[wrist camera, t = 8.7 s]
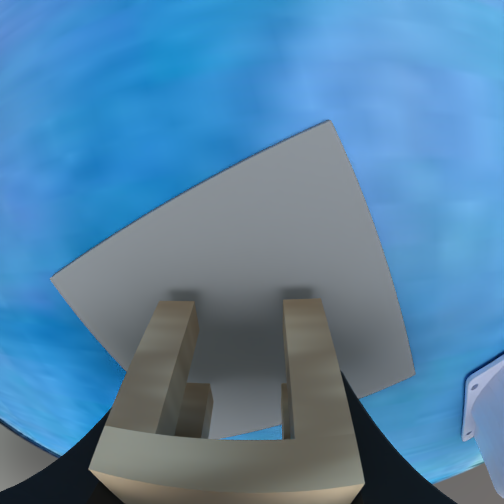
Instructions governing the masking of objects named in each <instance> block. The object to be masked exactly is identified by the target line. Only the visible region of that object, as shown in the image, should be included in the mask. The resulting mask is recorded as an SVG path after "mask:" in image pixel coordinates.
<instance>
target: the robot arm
mask: <svg viewBox="0 0 504 504" xmlns="http://www.w3.org/2000/svg"><path fill="white" fill-rule="evenodd" d="M340 372H341V376H342V380H343V384H344V388H345V393H346V397H347V401H348V405H349V410H350V414H351V418H352V423H353V427H354V432H355V437H356V441H357V446H358V451H359V456H360V461H361V466H362V471H363V476H364V481H365V484H364V486H363V487H362V488H361V490H360V491H359V493H358V494H357V495H356V497H355V498H354V500H353V501H352V502H351V504H457V503H456V502H454V501H453V500H452V499H450V498H449V497H447V496H446V495H445V494H443V493H442V492H441V491H440V490H438V489H437V488H436V487H434V486H433V485H432V484H431V483H430V482H428V481H427V480H426V479H425V478H424V477H423V476H421V475H420V474H419V473H418V472H417V471H416V470H415V469H414V468H413V467H412V466H411V465H410V464H409V463H408V462H407V461H406V460H405V459H404V458H403V457H402V456H401V455H400V453H399V452H398V451H397V450H396V449H395V448H394V447H393V445H392V444H391V443H390V442H389V441H388V439H387V438H386V437H385V436H384V434H383V433H382V432H381V431H380V429H379V428H378V427H377V425H376V424H375V423H374V421H373V420H372V418H371V417H370V416H369V414H368V413H367V411H366V410H365V408H364V407H363V405H362V404H361V402H360V401H359V399H358V398H357V396H356V394H355V393H354V391H353V390H352V388H351V386H350V385H349V383H348V381H347V379H346V377H345V376H344V374H343V372H342V371H341V370H340ZM111 409H112V408H111ZM111 409H110V410H109V411H108V412H107V413H106V414H105V416H104V417H103V418H102V419H101V420H100V421H99V422H98V423H97V424H96V425H95V426H94V427H93V428H92V429H91V430H90V431H89V432H88V433H87V434H86V435H85V436H84V437H83V438H82V439H81V440H80V441H79V442H78V443H77V444H76V445H75V446H73V447H72V448H71V449H70V450H69V451H68V452H66V453H65V454H64V455H63V456H61V457H60V458H59V459H57V460H56V461H55V462H53V463H52V464H51V465H49V466H48V467H46V468H45V469H43V470H42V471H40V472H38V473H37V474H35V475H33V476H32V477H30V478H29V479H27V480H25V481H23V482H21V483H19V484H17V485H15V486H13V487H10V488H8V489H6V490H4V491H1V492H0V504H125V503H124V502H122V501H121V500H120V499H119V498H118V497H117V496H116V495H115V494H113V493H112V492H111V491H110V490H109V489H108V488H107V487H106V486H105V485H104V484H103V483H102V482H101V481H100V480H99V479H98V478H97V477H96V476H95V475H94V474H93V473H92V472H91V471H90V470H89V466H90V463H91V460H92V458H93V455H94V452H95V450H96V447H97V444H98V442H99V439H100V436H101V434H102V431H103V429H104V426H105V424H106V421H107V419H108V416H109V414H110V411H111ZM472 437H474V438H475V441H476V443H477V445H478V448H479V450H480V452H481V455H482V457H483V459H484V462H485V464H486V467H487V469H488V472H489V475H490V477H491V480H492V482H493V485H494V488H495V490H496V491H497V493H498V494H499V495H500V496H501V497H502V498H504V354H503V355H502V356H500V357H499V358H497V359H496V360H494V361H493V362H491V363H490V364H488V365H486V366H485V367H483V368H481V369H480V370H478V371H476V372H475V373H473V374H472V375H470V376H469V377H468V378H467V380H466V388H465V405H464V417H463V427H462V435H461V438H462V441H467V440H469V439H471V438H472Z"/></svg>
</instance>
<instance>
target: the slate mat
mask: <svg viewBox="0 0 504 504" xmlns="http://www.w3.org/2000/svg"><path fill="white" fill-rule="evenodd" d="M50 280H51V282H52V283H53V284H54V286H55V287H56V288H57V290H58V291H59V293H60V294H61V295H62V297H63V298H64V299H65V301H66V302H67V303H68V304H69V306H70V307H71V308H72V310H73V311H74V312H75V313H76V315H77V316H78V317H79V318H80V320H81V321H82V322H83V323H84V325H85V326H86V327H87V328H88V329H89V331H90V332H91V333H92V334H93V335H94V336H95V338H96V339H97V340H98V341H99V342H100V343H101V345H102V346H103V347H104V348H105V349H106V350H107V351H108V352H109V354H110V355H111V356H112V357H113V358H114V359H115V360H116V361H117V362H118V363H119V364H120V365H121V366H122V368H123V369H124V370H125V371H126V372H127V371H128V368H129V366H130V364H131V361H132V359H133V357H134V355H135V352H136V350H137V348H138V346H139V344H140V341H141V339H142V337H143V335H144V333H145V330H146V328H147V326H148V324H149V322H150V320H151V317H152V315H153V313H154V311H155V309H156V307H157V305H158V303H159V301H195V307H196V313H197V318H198V324H199V334H198V338H197V342H196V346H195V350H194V354H193V358H192V362H191V367H190V371H189V375H188V379H187V383H208V384H210V386H211V391H212V396H213V400H214V403H213V410H212V417H211V424H210V431H209V438H208V439H221V438H226V437H231V436H236V435H240V434H245V433H249V432H253V431H258V430H262V429H266V428H270V427H274V426H277V425H281V424H282V417H281V383H287V380H286V366H285V353H284V340H283V300H288V299H314V298H321V300H322V304H323V308H324V311H325V315H326V318H327V322H328V326H329V330H330V333H331V337H332V341H333V345H334V348H335V352H336V356H337V360H338V364H339V368H340V370H341V371H342V372H343V374H344V376H345V377H346V379H347V381H348V383H349V385H350V386H351V388H352V390H353V391H354V393H355V394H356V396H357V398H358V399H360V398H363V397H365V396H368V395H370V394H373V393H375V392H378V391H380V390H382V389H385V388H387V387H389V386H392V385H394V384H396V383H399V382H401V381H403V380H405V379H407V378H409V377H412V376H414V375H416V374H415V369H414V364H413V359H412V355H411V350H410V346H409V341H408V337H407V333H406V329H405V325H404V321H403V317H402V313H401V309H400V306H399V302H398V298H397V295H396V291H395V288H394V284H393V281H392V277H391V274H390V271H389V268H388V264H387V261H386V258H385V255H384V252H383V249H382V246H381V243H380V240H379V237H378V234H377V231H376V228H375V225H374V223H373V220H372V217H371V214H370V212H369V209H368V206H367V204H366V201H365V198H364V196H363V193H362V191H361V188H360V186H359V183H358V181H357V178H356V176H355V173H354V171H353V168H352V166H351V164H350V161H349V159H348V157H347V154H346V152H345V150H344V148H343V145H342V143H341V141H340V139H339V136H338V134H337V132H336V130H335V128H334V126H333V123H332V121H331V120H327V121H325V122H322V123H320V124H318V125H315V126H313V127H311V128H309V129H307V130H304V131H302V132H300V133H298V134H296V135H294V136H291V137H289V138H287V139H285V140H283V141H281V142H279V143H277V144H275V145H273V146H270V147H268V148H266V149H264V150H262V151H260V152H258V153H256V154H254V155H252V156H250V157H248V158H246V159H244V160H242V161H240V162H239V163H237V164H235V165H233V166H231V167H229V168H227V169H225V170H223V171H221V172H219V173H218V174H216V175H214V176H212V177H210V178H208V179H206V180H205V181H203V182H201V183H199V184H197V185H196V186H194V187H192V188H190V189H188V190H187V191H185V192H183V193H181V194H180V195H178V196H176V197H174V198H173V199H171V200H169V201H167V202H166V203H164V204H162V205H161V206H159V207H157V208H155V209H154V210H152V211H150V212H149V213H147V214H145V215H144V216H142V217H140V218H139V219H137V220H136V221H134V222H132V223H131V224H129V225H127V226H126V227H124V228H123V229H121V230H119V231H118V232H116V233H115V234H113V235H112V236H110V237H109V238H107V239H105V240H104V241H102V242H101V243H99V244H98V245H96V246H95V247H93V248H92V249H90V250H89V251H87V252H86V253H84V254H83V255H81V256H80V257H78V258H77V259H75V260H74V261H72V262H71V263H70V264H68V265H67V266H65V267H64V268H62V269H61V270H60V271H58V272H57V273H55V274H54V275H53V276H52V277H51V278H50Z"/></svg>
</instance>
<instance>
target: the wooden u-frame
mask: <svg viewBox="0 0 504 504" xmlns="http://www.w3.org/2000/svg"><path fill="white" fill-rule="evenodd" d="M198 334H199V324H198V318H197V313H196V307H195V301H159V303H158V305H157V307H156V309H155V311H154V313H153V315H152V317H151V320H150V322H149V324H148V326H147V328H146V330H145V333H144V335H143V337H142V339H141V341H140V344H139V346H138V348H137V350H136V352H135V355H134V357H133V359H132V361H131V364H130V366H129V368H128V371H127V373H126V375H125V378H124V380H123V382H122V385H121V387H120V389H119V392H118V394H117V397H116V399H115V401H114V404H113V406H112V409H111V411H110V414H109V416H108V419H107V421H106V424H105V426H104V429H103V431H102V434H101V436H100V439H99V442H98V444H97V447H96V450H95V452H94V455H93V458H92V460H91V463H90V466H89V470H90V471H91V472H92V473H93V474H94V475H95V476H96V477H97V478H98V479H99V480H100V481H101V482H102V483H103V484H104V485H105V486H106V487H107V488H108V489H109V490H110V491H111V492H112V493H113V494H115V495H116V496H117V497H118V498H119V499H120V500H121V501H122V502H124V503H125V504H351V502H352V501H353V500H354V498H355V497H356V495H357V494H358V493H359V491H360V490H361V488H362V487H363V486H364V484H365V481H364V476H363V471H362V466H361V461H360V456H359V451H358V446H357V441H356V437H355V432H354V427H353V423H352V418H351V414H350V410H349V405H348V401H347V397H346V393H345V388H344V384H343V380H342V376H341V372H340V368H339V364H338V360H337V356H336V352H335V348H334V345H333V341H332V337H331V333H330V330H329V326H328V322H327V318H326V315H325V311H324V308H323V304H322V300H321V298H314V299H288V300H283V340H284V353H285V366H286V380H287V383H281V417H282V440H219V439H208V438H209V431H210V424H211V417H212V410H213V403H214V400H213V396H212V391H211V386H210V384H208V383H187V379H188V375H189V371H190V367H191V362H192V358H193V354H194V350H195V346H196V342H197V338H198Z"/></svg>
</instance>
